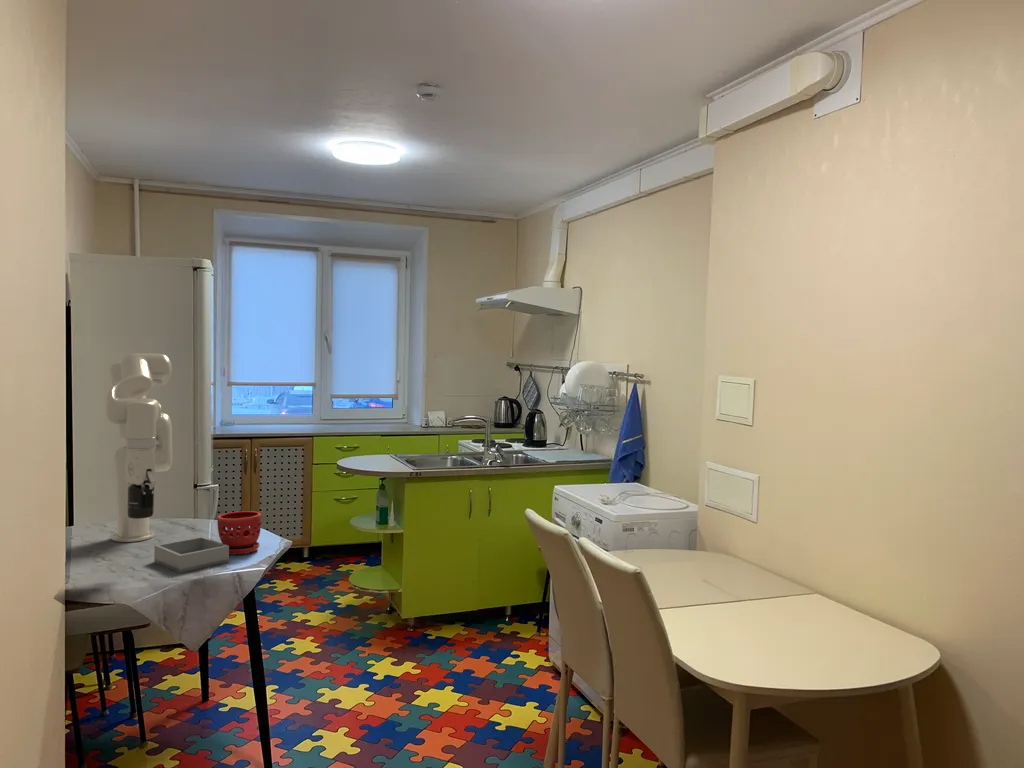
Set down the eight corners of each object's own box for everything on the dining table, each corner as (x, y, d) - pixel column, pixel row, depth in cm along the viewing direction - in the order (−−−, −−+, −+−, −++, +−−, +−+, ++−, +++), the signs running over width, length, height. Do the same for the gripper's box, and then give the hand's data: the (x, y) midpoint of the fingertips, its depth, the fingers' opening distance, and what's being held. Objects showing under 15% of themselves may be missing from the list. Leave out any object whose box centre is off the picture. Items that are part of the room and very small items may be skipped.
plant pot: (267, 546, 232) (267, 510, 232) (251, 557, 219) (251, 519, 218) (228, 545, 232) (228, 509, 232) (209, 556, 219) (210, 518, 219)
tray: (154, 561, 212) (154, 545, 212) (202, 552, 223) (202, 536, 223) (179, 573, 202) (179, 555, 202) (228, 562, 213) (229, 545, 213)
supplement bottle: (126, 519, 198) (126, 477, 198) (128, 514, 205) (128, 473, 204) (153, 518, 201) (153, 476, 200) (154, 512, 207) (155, 472, 207)
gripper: (114, 441, 204) (114, 502, 205) (140, 448, 193) (140, 512, 194) (141, 439, 210) (141, 498, 211) (168, 446, 199) (168, 508, 200)
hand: (140, 504), depth 203 cm, fingers closed on supplement bottle, 6 cm apart
